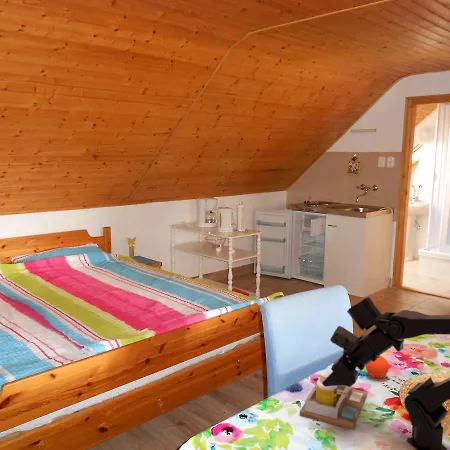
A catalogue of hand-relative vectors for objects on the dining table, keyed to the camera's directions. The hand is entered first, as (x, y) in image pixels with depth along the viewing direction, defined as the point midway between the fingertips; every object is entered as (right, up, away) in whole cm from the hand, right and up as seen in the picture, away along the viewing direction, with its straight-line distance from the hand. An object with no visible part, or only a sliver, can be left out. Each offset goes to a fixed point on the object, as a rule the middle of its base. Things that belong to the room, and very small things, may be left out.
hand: (327, 377), depth 126 cm
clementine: (+20, -7, +22) cm, 31 cm away
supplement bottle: (0, -9, +1) cm, 9 cm away
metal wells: (+2, -8, +6) cm, 10 cm away
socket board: (+3, -9, +5) cm, 11 cm away
